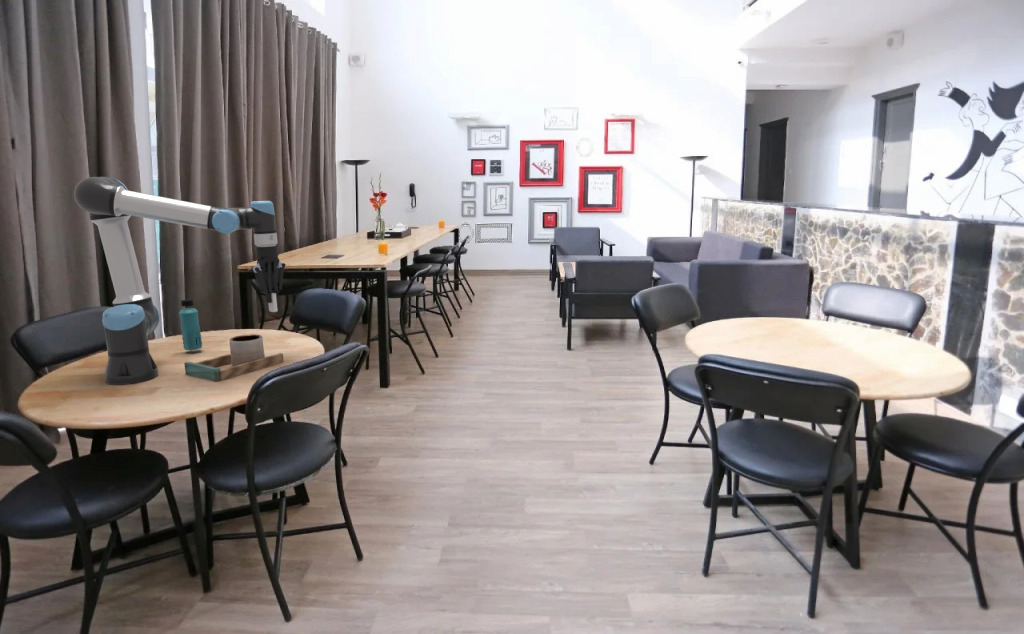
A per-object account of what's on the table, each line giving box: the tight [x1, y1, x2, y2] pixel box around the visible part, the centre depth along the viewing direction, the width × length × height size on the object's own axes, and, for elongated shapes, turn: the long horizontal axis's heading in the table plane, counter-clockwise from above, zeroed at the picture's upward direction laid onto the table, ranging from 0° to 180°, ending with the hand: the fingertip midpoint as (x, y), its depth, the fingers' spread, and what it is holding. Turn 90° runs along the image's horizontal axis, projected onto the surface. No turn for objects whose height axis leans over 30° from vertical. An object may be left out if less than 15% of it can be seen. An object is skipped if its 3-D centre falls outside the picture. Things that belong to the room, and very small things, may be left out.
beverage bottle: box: [178, 298, 203, 351], centre depth 244 cm, size 6×7×20 cm
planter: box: [228, 333, 266, 367], centre depth 227 cm, size 11×11×10 cm
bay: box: [183, 352, 285, 383], centre depth 224 cm, size 26×17×4 cm, turn 148°
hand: (273, 311), depth 235 cm, fingers closed
